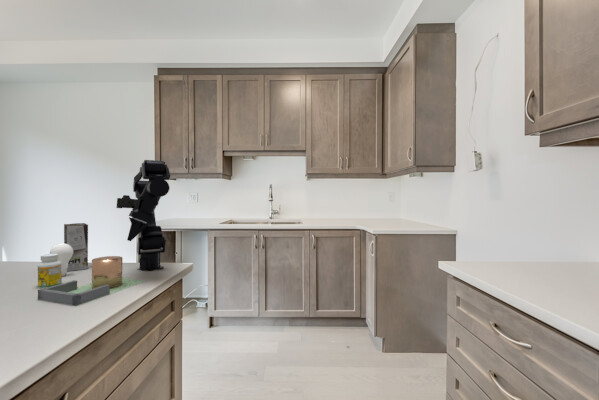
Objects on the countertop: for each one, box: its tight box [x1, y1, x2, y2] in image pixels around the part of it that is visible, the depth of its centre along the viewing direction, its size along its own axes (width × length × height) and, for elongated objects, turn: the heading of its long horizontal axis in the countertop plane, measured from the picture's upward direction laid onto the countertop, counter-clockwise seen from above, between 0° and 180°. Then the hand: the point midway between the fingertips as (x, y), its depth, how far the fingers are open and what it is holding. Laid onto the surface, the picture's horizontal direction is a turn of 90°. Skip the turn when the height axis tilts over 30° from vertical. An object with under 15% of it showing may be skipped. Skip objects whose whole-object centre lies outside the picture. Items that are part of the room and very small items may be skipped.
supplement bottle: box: [37, 253, 63, 289], centre depth 89 cm, size 5×5×10 cm
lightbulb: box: [49, 242, 73, 278], centre depth 100 cm, size 6×6×11 cm
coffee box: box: [63, 222, 89, 272], centre depth 111 cm, size 9×6×16 cm
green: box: [37, 277, 147, 307], centre depth 86 cm, size 22×14×1 cm, turn 163°
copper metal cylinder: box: [91, 255, 123, 289], centre depth 89 cm, size 8×8×8 cm
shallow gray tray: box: [37, 279, 111, 307], centre depth 80 cm, size 9×13×2 cm
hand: (128, 240), depth 98 cm, fingers closed
